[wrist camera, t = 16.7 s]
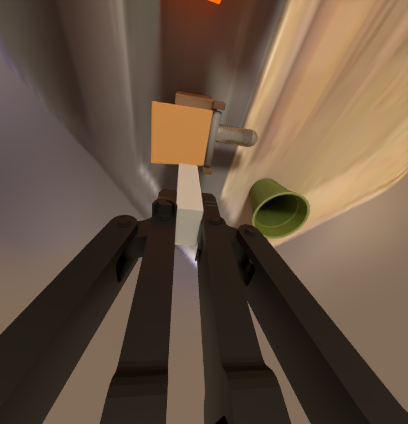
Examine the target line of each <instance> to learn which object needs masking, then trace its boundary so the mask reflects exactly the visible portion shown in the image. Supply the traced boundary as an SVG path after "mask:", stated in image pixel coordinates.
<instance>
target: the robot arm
mask: <svg viewBox="0 0 408 424" xmlns="http://www.w3.org/2000/svg"><path fill="white" fill-rule="evenodd" d="M197 241H198V248H197V253H196V257H195V261H197V267H198V283H199V298H200V314H201V330H202V346H203V362H204V378H205V400H204V424H291V422H290V418H289V415H288V411H287V408H286V405H285V402H284V398H283V395H282V392H281V388H280V386H279V383H278V380H277V378H276V376H275V374H274V372H273V371H272V370H271V369H270V368H269V367H268V366H266V364H265V363H264V360H263V358H262V354H261V351H260V347H259V343H258V340H257V336H256V332H255V329H254V325H253V321H252V318H251V314H250V310H249V307H248V303H249V305H250V307H251V308H252V311H253V312H254V315H255V317H256V318H257V320H258V322H259V324H260V326H261V328H262V330H263V332H264V334H265V336H266V338H267V340H268V342H269V344H270V345H271V348H272V349H273V351H274V353H275V355H276V357H277V359H278V361H279V363H280V365H281V367H282V369H283V371H284V373H285V375H286V377H287V379H288V380H289V382H290V384H291V386H292V388H293V390H294V392H295V394H296V396H297V398H298V400H299V402H300V404H301V406H302V408H303V409H304V411H305V414H306V415H307V417H308V419H309V421H310V423H311V424H408V412H407V411H405V409H403V408H402V406H401V405H400V404H399V403H398V402H397V400H396V399H395V398H394V397H393V395H392V394H391V393H390V392H389V390H388V389H387V388H386V387H385V386H384V384H383V383H382V382H381V381H380V379H379V378H378V377H377V376H376V374H375V373H374V372H373V371H372V369H371V368H370V367H369V366H368V364H367V363H366V362H365V361H364V359H363V358H362V357H361V356H360V354H359V353H358V352H357V351H356V349H355V348H354V347H353V346H352V345H351V343H350V342H349V341H348V340H347V338H346V337H345V336H344V335H343V333H342V332H341V331H340V330H339V328H338V327H337V326H336V325H335V324H334V322H333V321H332V320H331V318H330V317H329V316H328V315H327V314H326V312H325V311H324V310H323V309H322V307H321V306H320V305H319V304H318V303H317V301H316V300H315V299H314V297H313V296H312V295H311V294H310V292H309V291H308V290H307V289H306V288H305V286H304V285H303V284H302V283H301V281H300V280H299V279H298V278H297V276H296V275H295V274H294V273H293V271H292V270H291V269H290V268H289V266H288V265H287V264H286V263H285V261H284V260H283V259H282V258H281V257H280V255H279V254H278V253H277V251H275V249H274V248H273V247H272V245H271V244H270V243H269V242H268V240H267V239H266V238H265V237H264V235H263V234H262V233H261V232H260V231H259V230H258V229H257V228H256V227H254V226H252V225H247V224H244V225H241V226H240V227H239V229H236V228H233V227H230V226H228V225H226V222H225V221H224V219H223V218H221V217H220V214H219V210H218V206H217V202H216V198H215V197H214V196H213V195H212V194H208V193H201V189H200V182H199V175H198V167H197V165H189V164H181V163H179V170H178V180H177V191H175V190H166V189H163V190H161V191H160V192H159V195H158V199H157V200H155V201H154V202H153V203H152V217H151V218H149V219H147V220H143V221H137V219H135V218H134V217H132V216H129V215H121V216H117V217H114V218H113V219H112V220H111V221H110V222H109V223H108V224H107V225H106V226H105V227H104V228H103V229H102V230H101V231H100V232H99V233H98V234H97V235H96V236H95V237H94V238H93V239H92V240H91V241H90V242H89V243H88V244H87V245H86V247H85V248H84V249H83V250H82V251H81V252H80V253H79V254H78V255H77V256H76V257H75V258H74V259H73V260H72V261H71V262H70V263H69V264H68V265H67V266H66V267H65V268H64V269H63V270H62V271H61V272H60V273H59V275H57V277H56V278H55V279H54V280H53V281H52V282H51V283H50V284H49V285H48V286H47V287H46V288H45V289H44V290H43V291H42V292H41V293H40V294H39V295H38V296H37V297H36V298H35V299H34V300H33V301H32V303H31V304H29V306H28V307H27V308H26V309H25V310H24V311H23V312H22V313H21V314H20V315H19V316H18V317H17V318H16V319H15V320H14V321H13V322H12V323H11V324H10V325H9V326H8V327H7V328H6V330H5V331H3V332H2V334H1V335H0V424H42V423H43V421H44V419H45V418H46V416H47V414H48V413H49V411H50V409H51V407H52V406H53V404H54V402H55V400H56V399H57V397H58V396H59V394H60V392H61V390H62V389H63V387H64V385H65V384H66V382H67V380H68V379H69V377H70V375H71V373H72V372H73V370H74V368H75V367H76V365H77V363H78V361H79V360H80V358H81V356H82V354H83V353H84V351H85V349H86V348H87V346H88V344H89V342H90V341H91V339H92V337H93V336H94V334H95V332H96V331H97V329H98V327H99V326H100V324H101V322H102V320H103V319H104V317H105V315H106V314H107V312H108V310H109V309H110V307H111V305H112V303H113V302H114V300H115V298H116V297H117V295H118V293H119V291H120V290H121V288H122V286H123V285H124V283H125V281H126V280H127V278H128V276H129V274H130V273H131V271H132V269H133V267H134V266H135V264H136V262H137V261H138V258H140V257H143V258H142V262H141V267H140V271H139V276H138V280H137V284H136V289H135V293H134V297H133V302H132V307H131V310H130V315H129V319H128V324H127V328H126V332H125V337H124V341H123V345H122V349H121V354H120V358H119V362H118V366H117V370H116V372H115V374H114V376H113V377H112V380H111V383H110V386H109V389H108V393H107V396H106V401H105V404H104V409H103V413H102V417H101V421H100V424H166V409H167V387H168V355H169V338H170V337H169V336H170V321H171V319H170V318H171V302H172V285H173V266H174V250H175V245H189V246H196V245H197ZM247 301H248V303H247Z"/></svg>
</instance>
